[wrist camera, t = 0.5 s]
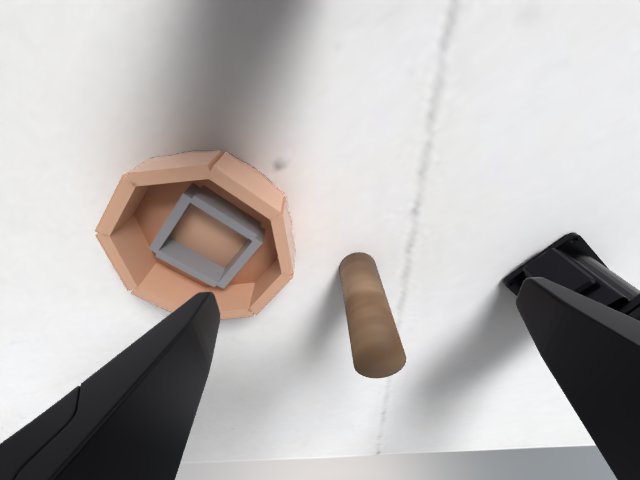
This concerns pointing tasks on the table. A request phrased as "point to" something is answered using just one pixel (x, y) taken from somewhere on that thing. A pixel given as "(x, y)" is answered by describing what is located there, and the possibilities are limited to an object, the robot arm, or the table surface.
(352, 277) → the wooden dowel rod
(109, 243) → the tan polygonal bowl
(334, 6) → the table surface
